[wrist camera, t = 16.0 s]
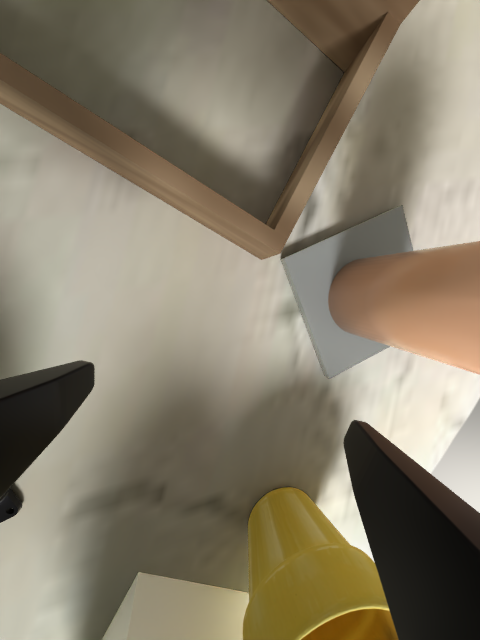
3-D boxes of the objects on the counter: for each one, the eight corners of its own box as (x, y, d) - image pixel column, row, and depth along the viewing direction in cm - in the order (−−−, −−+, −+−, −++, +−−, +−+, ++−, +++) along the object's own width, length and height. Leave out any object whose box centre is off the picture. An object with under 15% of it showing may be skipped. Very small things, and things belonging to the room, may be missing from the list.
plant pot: (230, 472, 21) (263, 633, 11) (335, 463, 23) (437, 591, 13) (223, 570, 22) (246, 787, 13) (322, 553, 24) (405, 727, 15)
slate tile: (324, 375, 21) (329, 378, 20) (280, 259, 19) (284, 258, 18) (422, 323, 22) (431, 324, 21) (394, 208, 20) (402, 205, 19)
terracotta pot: (313, 325, 19) (559, 408, 6) (342, 242, 18) (679, 151, 6) (380, 346, 21) (683, 447, 8) (409, 271, 20) (786, 250, 7)
